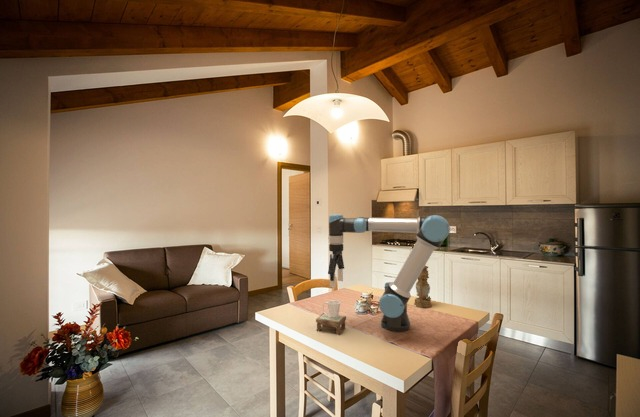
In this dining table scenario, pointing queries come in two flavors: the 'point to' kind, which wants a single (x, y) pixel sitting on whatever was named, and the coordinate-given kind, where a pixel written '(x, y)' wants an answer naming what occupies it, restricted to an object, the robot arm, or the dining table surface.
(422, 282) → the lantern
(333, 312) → the cup
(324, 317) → the felt pad
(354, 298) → the dining table surface
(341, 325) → the footstool
